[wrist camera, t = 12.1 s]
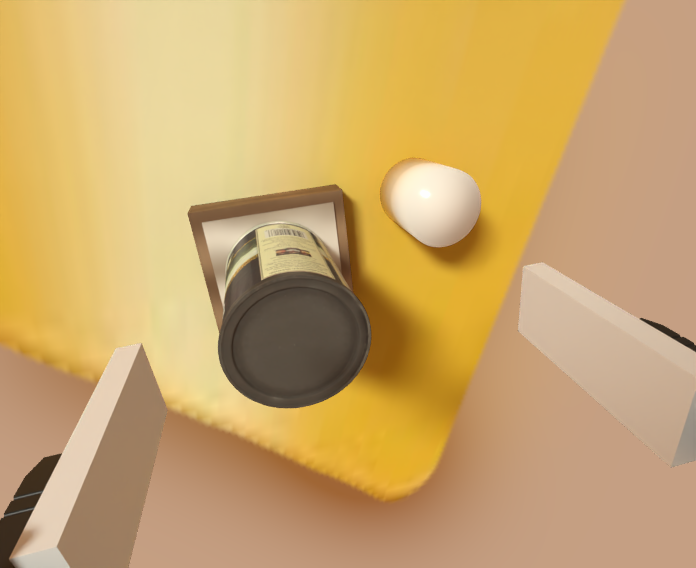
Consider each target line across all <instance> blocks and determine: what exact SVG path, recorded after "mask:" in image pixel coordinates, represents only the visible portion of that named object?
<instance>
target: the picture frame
mask: <svg viewBox="0 0 696 568" xmlns="http://www.w3.org/2000/svg"><path fill="white" fill-rule="evenodd" d="M188 217H189V221H190V224H191V228H192V232H193V236H194V239H195V243H196V247H197V251H198V255H199V258H200V262H201V266H202V270H203V273H204V277H205V281H206V285H207V288H208V292H209V296H210V300H211V303H212V307H213V311H214V315H215V318H216V322H217V326H218V330H219V333H220V329H221V326H222V318H223V308H224V297H225V279H226V274H225V270H226V262H227V258H228V255H229V253H230V251H231V249H232V247H233V245H234V244H235V243H236V241H237V240H238V239H239V238H240V237H241V236H242V235H243V234H244V233H245V232H247V231H248V230H250V229H252V228H253V227H255V226H257V225H260V224H263V223H267V222H272V221H288V222H293V223H297V224H300V225H302V226H305V227H307V228H308V229H310V230H311V231H313V232H314V233H315V234H316V235H318V236H319V238H320V239H321V240H322V241H323V243H324V244H325V246H326V247H327V249H328V252H329V254H330V256H331V258H332V259H333V261H334V263H335V264H336V266H337V267H338V269H339V271H340V273H341V274H342V276H343V278H344V279H345V281H346V283H347V284H348V286H349V288H350V289H351V291H352V292H353V286H352V277H351V267H350V258H349V249H348V240H347V231H346V222H345V213H344V203H343V194H342V189H340V188H339V187H338V186H337V185H336V184H335V185H329V186H322V187H315V188H309V189H302V190H295V191H289V192H282V193H275V194H269V195H262V196H255V197H249V198H242V199H235V200H229V201H222V202H215V203H209V204H202V205H195V206H191V208H190V210H189V212H188Z"/></svg>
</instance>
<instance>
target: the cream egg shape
mask: <svg viewBox="0 0 696 568" xmlns="http://www.w3.org/2000/svg"><path fill="white" fill-rule="evenodd" d="M380 201H381V205H382V208H383V210H384V212H385V213H386V214H387V216H388V217H389V218H390V219H392V220H393V221H394V222H396V223H397V224H398V225H399V226H401V227H402V228H403V229H405V230H406V231H407V232H409V233H410V234H411V235H413V236H414V237H415V238H416V239H418V240H419V241H420V242H422V243H424V244H426V245H428V246H432V247H446V246H450V245H452V244H455V243H457V242H458V241H460V240H461V239H463V238H464V237H465V236H466V235H467V234H468V233H469V232H470V231H471V230H472V228H473V227H474V225H475V223H476V221H477V219H478V217H479V214H480V209H481V196H480V191H479V188H478V186H477V184H476V182H475V181H474V180H473V179H472V177H471V176H469V175H468V174H467V173H465V172H463V171H461V170H458V169H455V168H451V167H448V166H445V165H441V164H438V163H435V162H431V161H428V160H425V159H421V158H408V159H405V160H402V161H400V162H398V163H397V164H395V165H394V166H393V167H392V168H391V169H390V170H389V171H388V172H387V174H386V175H385V177H384V179H383V182H382V184H381V188H380Z"/></svg>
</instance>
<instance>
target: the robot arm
mask: <svg viewBox="0 0 696 568" xmlns="http://www.w3.org/2000/svg"><path fill="white" fill-rule="evenodd" d="M518 332H520V333H521V334H522V335H523V336H524V337H525V338H526V339H527V340H529V341H530V342H531V343H532V344H533V345H534V346H535V347H537V348H538V349H539V350H540V351H541V352H542V353H543V354H544V355H545V356H546V357H548V358H549V359H550V360H551V361H552V362H553V363H554V364H555V365H556V366H558V367H559V368H560V369H561V370H562V371H563V372H564V373H566V374H567V375H568V376H569V377H570V378H571V379H572V380H573V381H574V382H576V383H577V384H578V385H579V386H580V387H581V388H583V390H585V391H586V392H587V393H588V394H589V395H590V396H591V397H592V398H593V399H595V400H596V401H597V402H598V403H599V404H600V405H601V406H602V407H604V408H605V409H606V410H607V411H608V412H609V413H610V414H611V415H612V416H614V417H615V418H616V419H617V420H618V421H619V422H620V423H621V424H622V425H624V426H625V427H626V428H627V429H628V430H629V431H630V432H632V433H633V434H634V435H635V436H636V437H637V438H638V439H639V440H640V441H642V442H643V443H644V444H645V445H646V446H647V447H648V448H649V449H650V450H652V451H653V452H654V453H655V454H656V455H657V456H658V457H659V458H661V459H662V460H663V461H664V462H665V463H666V464H667V465H668V466H669V467H671V468H672V467H675V466H678V465H682V464H685V463H689V462H692V461H695V460H696V346H695V345H694V343H693V342H691V341H690V340H688V339H686V338H684V337H680V335H679V334H677V333H675V332H674V331H672V330H670V329H669V328H667V327H665V326H663V325H661V324H658V323H655V322H652V321H649V320H646V319H643V318H640V319H638V318H637V317H635V316H633V315H632V314H630V313H628V312H626V311H624V310H623V309H621V308H620V307H618V306H616V305H614V304H613V303H611V302H609V301H608V300H606V299H604V298H603V297H601V296H599V295H597V294H596V293H594V292H592V291H591V290H589V289H587V288H586V287H584V286H582V285H580V284H579V283H577V282H575V281H574V280H572V279H570V278H568V277H566V276H565V275H563V274H562V273H560V272H558V271H557V270H555V269H553V268H551V267H550V266H548V265H546V264H544V263H543V262H542V263H537V264H532V265H527V266H523V276H522V289H521V302H520V314H519V326H518ZM167 411H168V410H167V407H166V405H165V402H164V400H163V397H162V394H161V392H160V389H159V387H158V384H157V382H156V379H155V376H154V374H153V371H152V369H151V366H150V364H149V361H148V358H147V356H146V353H145V351H144V348H143V346H142V343H139V344H134V345H130V346H125V347H120V348H116V349H115V351H114V353H113V355H112V357H111V359H110V361H109V363H108V365H107V367H106V369H105V371H104V373H103V375H102V377H101V379H100V380H99V382H98V384H97V386H96V388H95V390H94V392H93V394H92V396H91V398H90V400H89V402H88V404H87V406H86V408H85V410H84V412H83V414H82V416H81V418H80V420H79V422H78V424H77V426H76V428H75V430H74V432H73V434H72V436H71V438H70V440H69V442H68V444H67V445H66V448H65V449H64V452H63V453H62V454H57V455H53V456H49V457H45V458H43V459H42V460H41V461H40V462H39V463H38V464H37V465H36V467H34V468H33V470H31V471H30V473H28V475H26V476H25V478H24V480H23V481H22V483H21V485H20V487H19V488H18V490H17V492H16V494H15V495H14V501H11V502H10V504H9V506H8V508H7V509H6V511H5V513H4V518H1V520H0V568H128V567H129V563H130V559H131V555H132V551H133V547H134V543H135V539H136V535H137V531H138V527H139V523H140V519H141V515H142V511H143V507H144V503H145V499H146V495H147V491H148V487H149V483H150V479H151V475H152V470H153V467H154V463H155V458H156V455H157V451H158V446H159V443H160V439H161V434H162V431H163V426H164V422H165V419H166V415H167Z"/></svg>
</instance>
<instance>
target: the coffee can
mask: <svg viewBox="0 0 696 568" xmlns="http://www.w3.org/2000/svg"><path fill="white" fill-rule="evenodd" d="M225 274H226V279H225V297H224V308H223V318H222V326H221V329H220V334H219V340H218V355H219V360H220V364H221V367H222V369H223V371H224V373H225V375H226V377H227V378H228V380H229V381H230V383H231V384H232V385H233V386H234V387H235V388H236V389H237V390H238V391H239V392H240V393H242V394H243V395H244V396H246V397H247V398H249V399H251V400H253V401H255V402H258V403H261V404H263V405H266V406H270V407H277V408H299V407H305V406H310V405H313V404H316V403H319V402H322V401H324V400H327V399H328V398H330V397H332V396H334V395H335V394H337V393H339V392H340V391H341V390H343V389H344V388H345V387H346V386H347V385H348V384H350V383H351V382H352V380H353V379H354V378H355V377H356V376H357V375H358V373H359V372H360V370H361V368H362V367H363V365H364V363H365V361H366V359H367V356H368V353H369V349H370V344H371V326H370V322H369V318H368V315H367V313H366V310H365V308H364V307H363V305H362V303H361V302H360V301H359V299H358V298H357V297H356V296H355V295H354V293H353V292H352V291H351V289H350V288H349V286H348V284H347V283H346V281H345V279H344V278H343V276H342V274H341V273H340V271H339V269H338V267H337V266H336V264H335V263H334V261H333V259H332V258H331V256H330V254H329V252H328V249H327V247H326V246H325V244H324V243H323V241H322V240H321V239H320V238H319V236H318V235H316V234H315V233H314V232H313V231H311V230H310V229H308V228H307V227H305V226H302V225H300V224H297V223H293V222H288V221H272V222H267V223H263V224H260V225H257V226H255V227H253V228H252V229H250V230H248V231H247V232H245V233H244V234H243V235H242V236H241V237H240V238H239V239H238V240H237V241H236V243H235V244H234V245H233V247H232V249H231V251H230V253H229V255H228V258H227V262H226V270H225Z"/></svg>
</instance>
